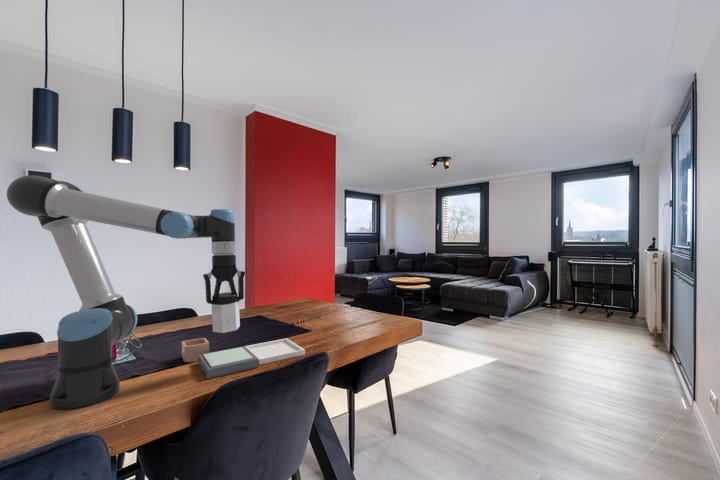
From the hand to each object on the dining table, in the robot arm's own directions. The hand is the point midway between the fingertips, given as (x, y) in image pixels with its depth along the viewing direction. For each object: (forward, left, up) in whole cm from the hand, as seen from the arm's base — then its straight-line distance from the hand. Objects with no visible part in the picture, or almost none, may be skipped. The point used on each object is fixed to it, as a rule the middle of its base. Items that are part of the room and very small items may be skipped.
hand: (226, 321), depth 114 cm
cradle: (+1, +1, -16) cm, 16 cm away
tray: (+19, +4, -16) cm, 25 cm away
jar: (0, 0, -3) cm, 3 cm away
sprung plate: (+1, +1, -13) cm, 13 cm away
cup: (-7, +15, -16) cm, 23 cm away
